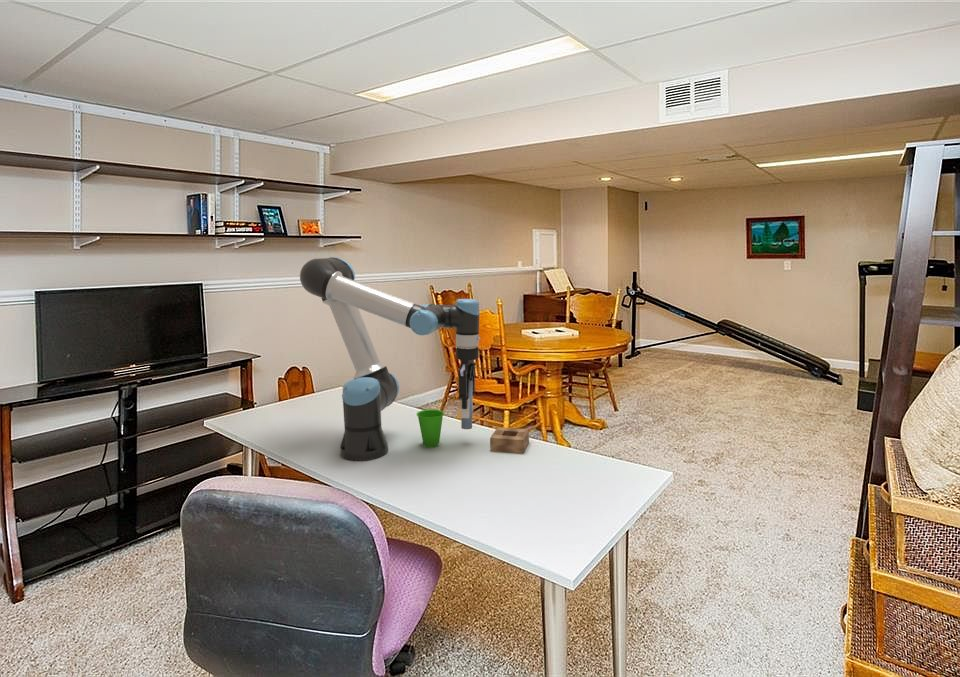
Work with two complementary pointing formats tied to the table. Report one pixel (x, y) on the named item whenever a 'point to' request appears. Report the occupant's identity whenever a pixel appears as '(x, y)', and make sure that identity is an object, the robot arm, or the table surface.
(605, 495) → the table surface
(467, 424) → the blue-grey rounded rod
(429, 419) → the cup
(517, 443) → the wooden socket block
